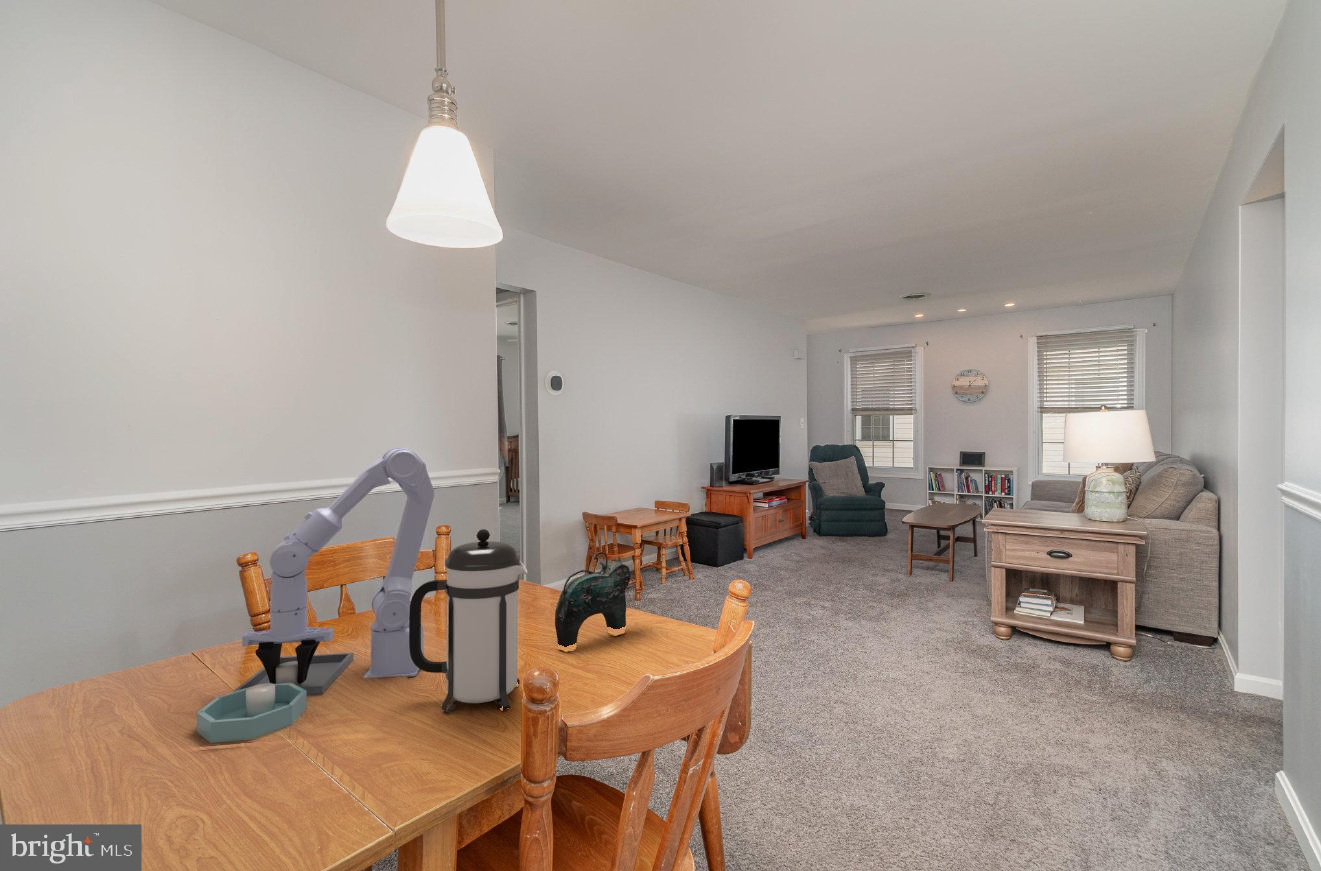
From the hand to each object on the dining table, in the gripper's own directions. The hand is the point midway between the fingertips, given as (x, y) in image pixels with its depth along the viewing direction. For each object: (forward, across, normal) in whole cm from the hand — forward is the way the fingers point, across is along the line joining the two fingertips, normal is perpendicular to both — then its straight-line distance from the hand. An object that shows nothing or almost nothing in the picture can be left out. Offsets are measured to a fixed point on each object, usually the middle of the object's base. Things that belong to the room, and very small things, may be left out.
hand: (288, 682), depth 107 cm
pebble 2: (+1, 0, 0) cm, 1 cm away
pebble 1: (+1, 0, +10) cm, 10 cm away
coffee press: (+2, -34, +10) cm, 35 cm away
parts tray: (+1, 0, -4) cm, 4 cm away
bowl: (+1, 0, +12) cm, 13 cm away
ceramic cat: (+2, -57, -16) cm, 59 cm away
